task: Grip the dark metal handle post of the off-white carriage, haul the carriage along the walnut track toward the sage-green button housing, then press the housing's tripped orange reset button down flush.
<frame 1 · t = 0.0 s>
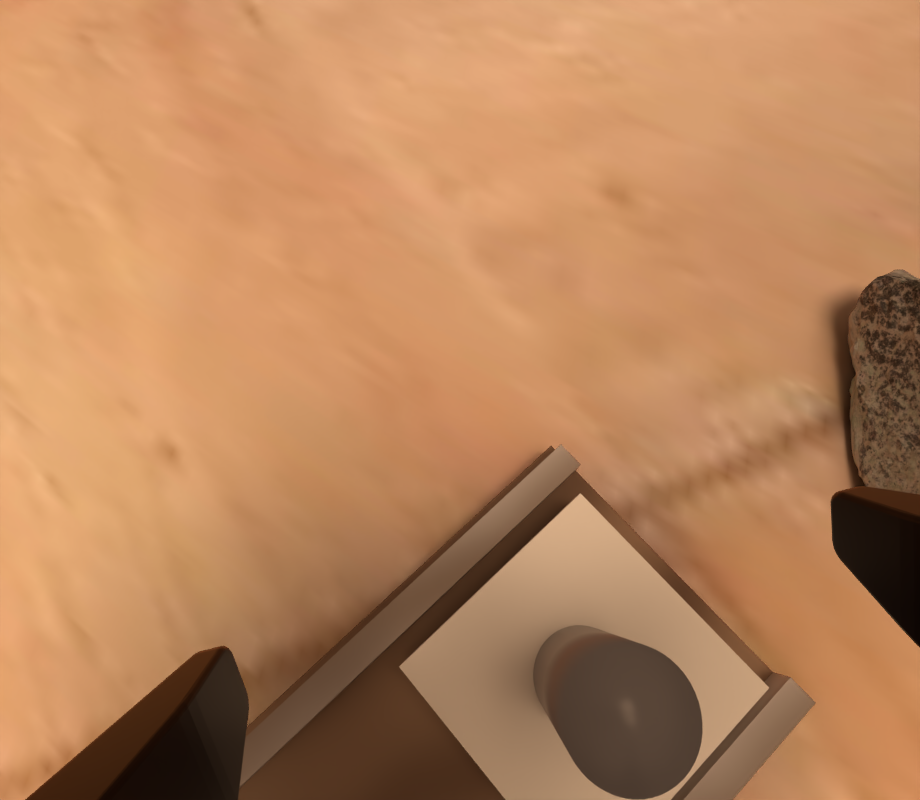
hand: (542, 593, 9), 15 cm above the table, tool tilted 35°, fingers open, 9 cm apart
carriage: (594, 687, 17), point 6 cm above the table, slide at 0.0 cm
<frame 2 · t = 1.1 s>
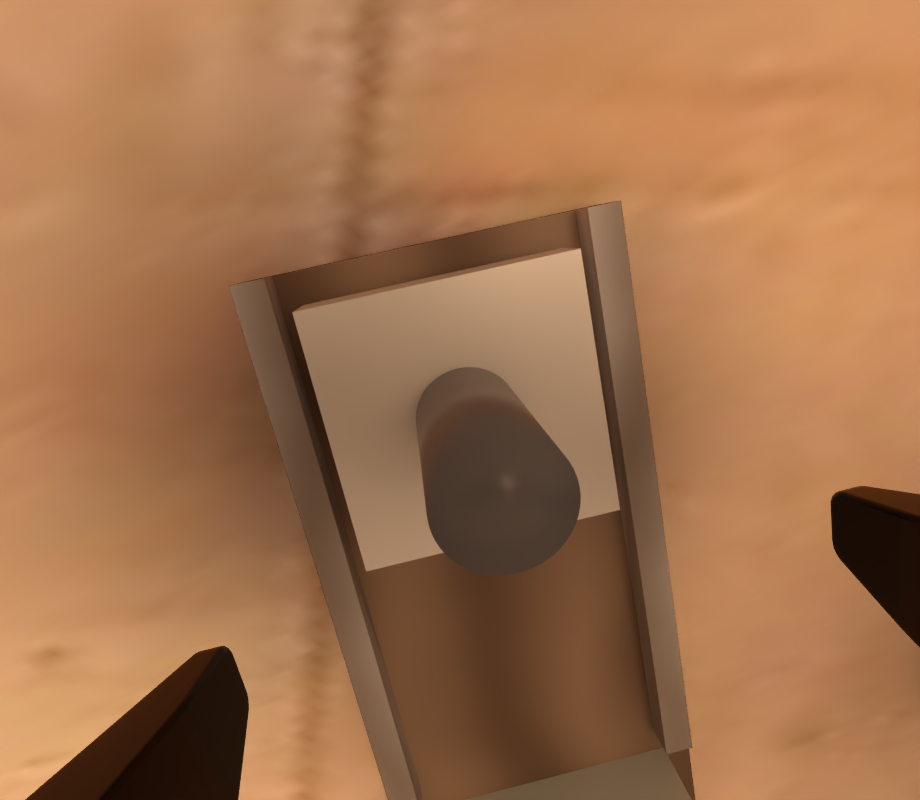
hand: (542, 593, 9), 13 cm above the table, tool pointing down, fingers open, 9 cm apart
carriage: (477, 440, 15), point 6 cm above the table, slide at 0.0 cm
track: (500, 596, 23), on the table
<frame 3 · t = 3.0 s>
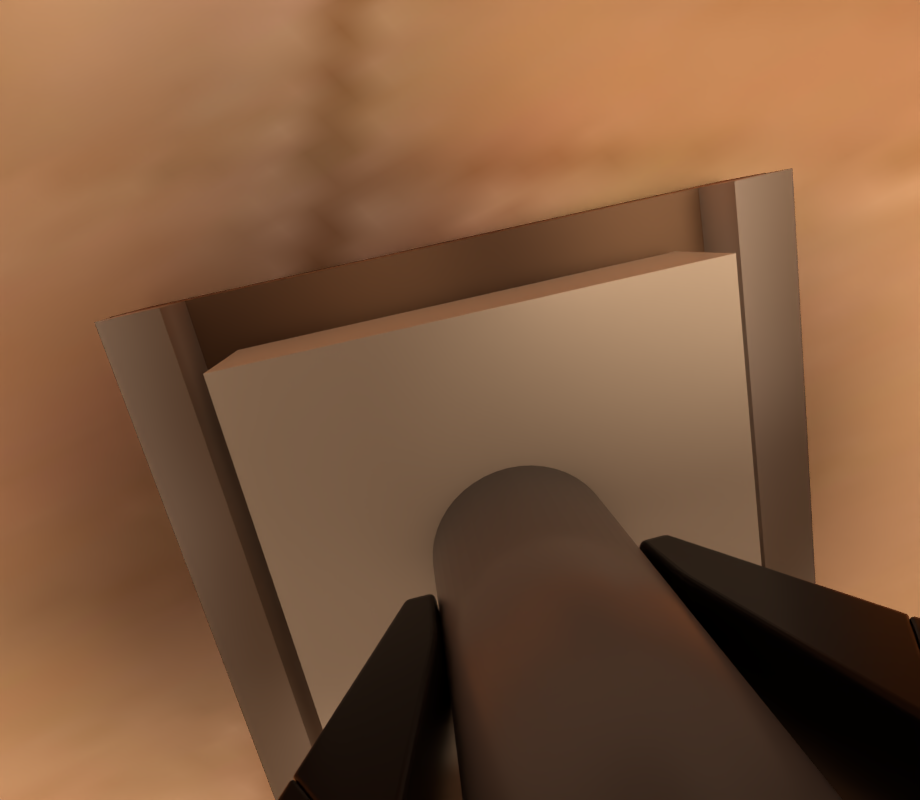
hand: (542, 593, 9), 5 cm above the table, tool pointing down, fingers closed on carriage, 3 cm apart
carriage: (556, 626, 8), point 6 cm above the table, slide at 0.0 cm, touching gripper
track: (551, 762, 16), on the table
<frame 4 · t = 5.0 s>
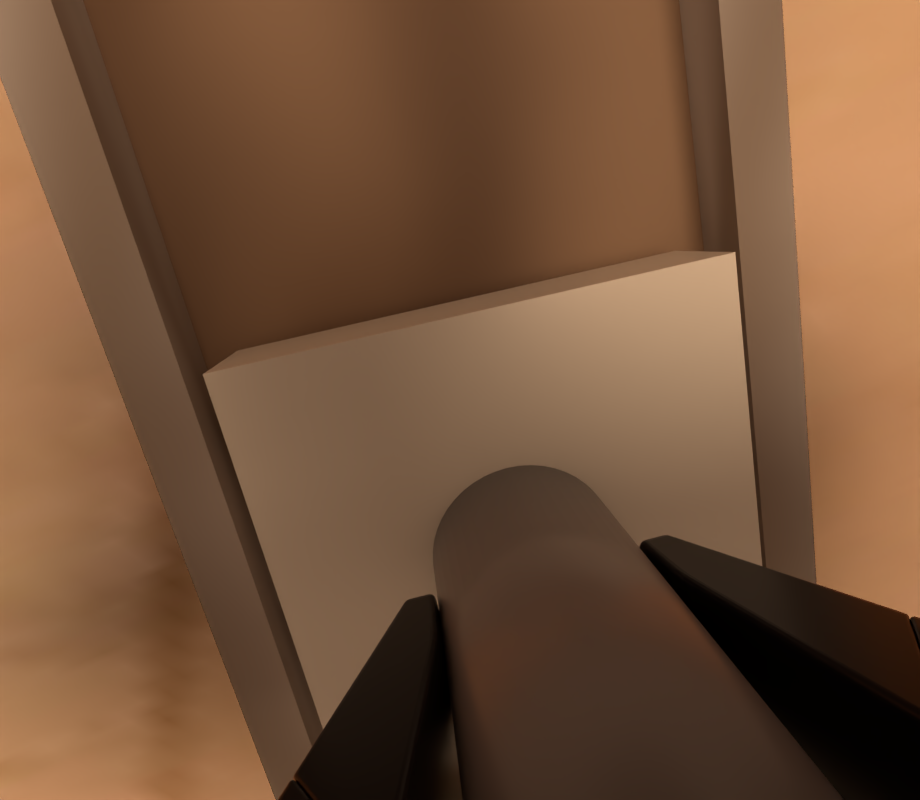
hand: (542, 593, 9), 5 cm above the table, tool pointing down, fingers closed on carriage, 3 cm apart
carriage: (556, 626, 8), point 6 cm above the table, slide at 8.4 cm, touching gripper
track: (489, 472, 14), on the table
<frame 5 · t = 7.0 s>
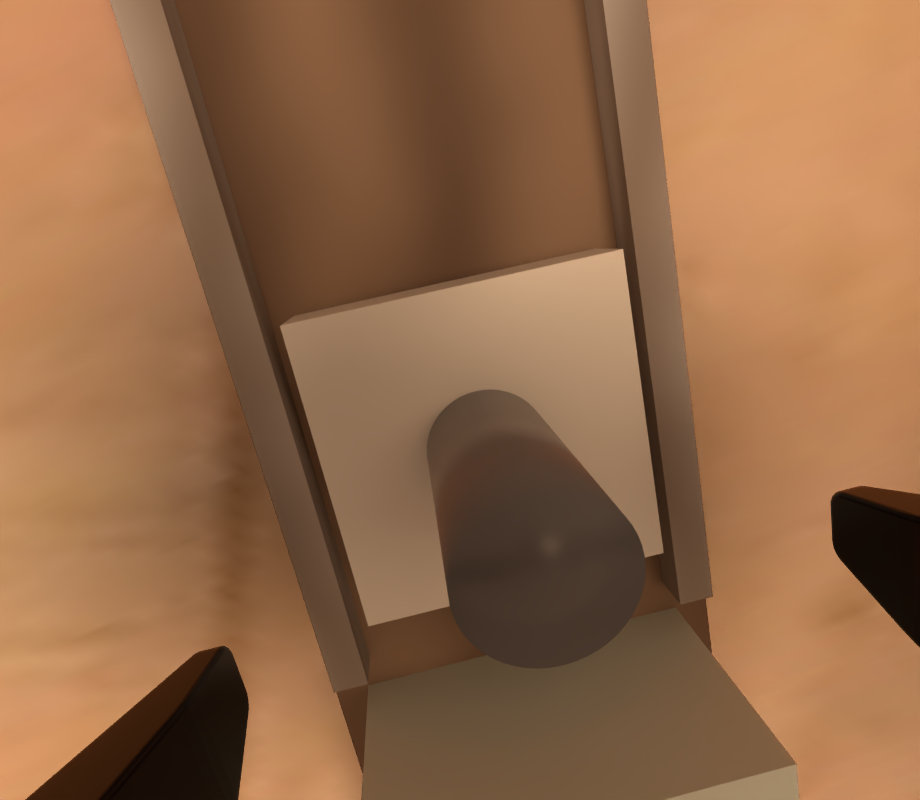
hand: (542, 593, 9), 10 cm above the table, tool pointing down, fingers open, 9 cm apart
carriage: (502, 479, 13), point 6 cm above the table, slide at 8.4 cm
track: (470, 410, 18), on the table
button housing: (530, 689, 21), resting on track
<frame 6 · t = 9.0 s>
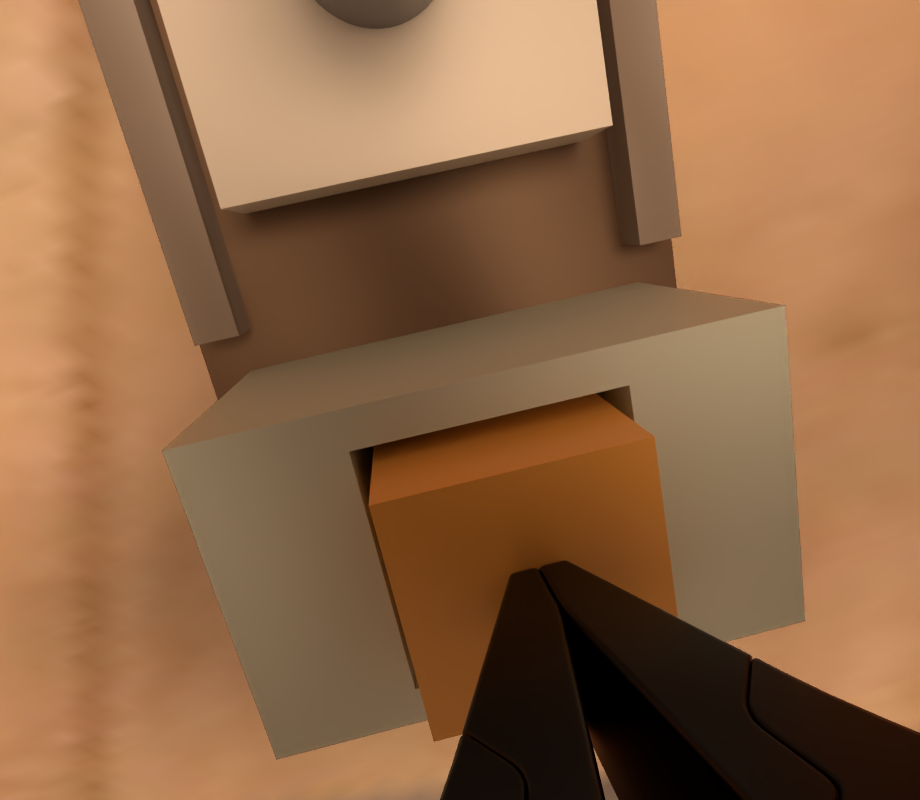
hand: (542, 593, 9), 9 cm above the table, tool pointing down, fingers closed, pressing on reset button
track: (376, 16, 15), on the table
reset button: (506, 520, 11), point 7 cm above the table, slide at 0.5 cm, touching gripper
button housing: (465, 419, 17), resting on track
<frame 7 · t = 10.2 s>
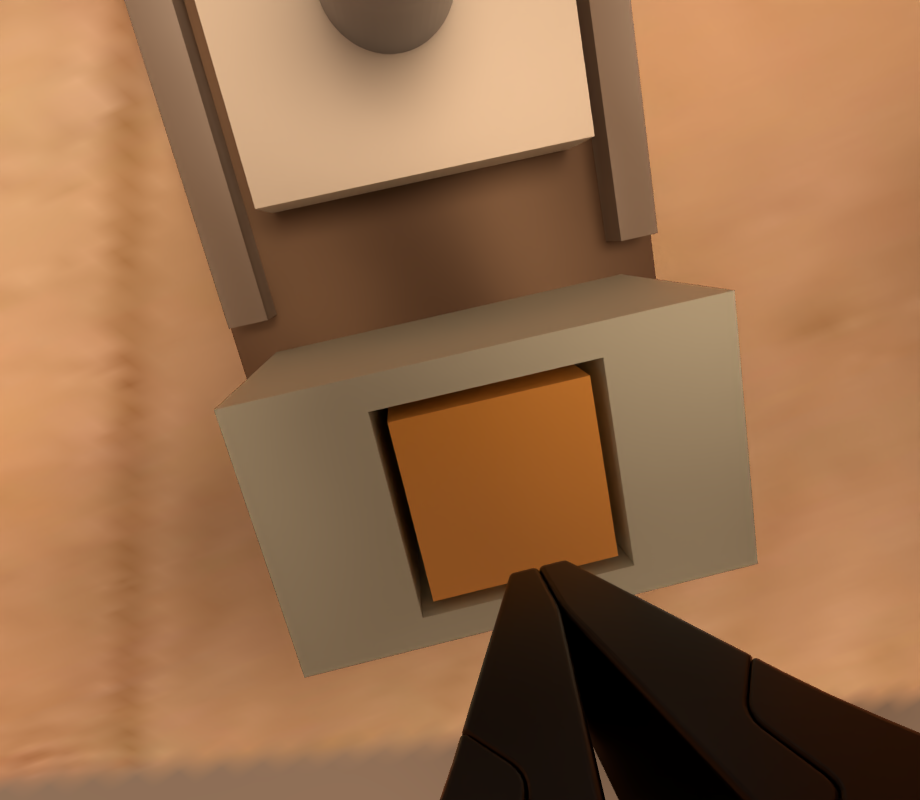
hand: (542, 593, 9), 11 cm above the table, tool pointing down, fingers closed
track: (388, 37, 16), on the table
reset button: (490, 451, 14), point 5 cm above the table, slide at 2.0 cm
button housing: (466, 399, 19), resting on track
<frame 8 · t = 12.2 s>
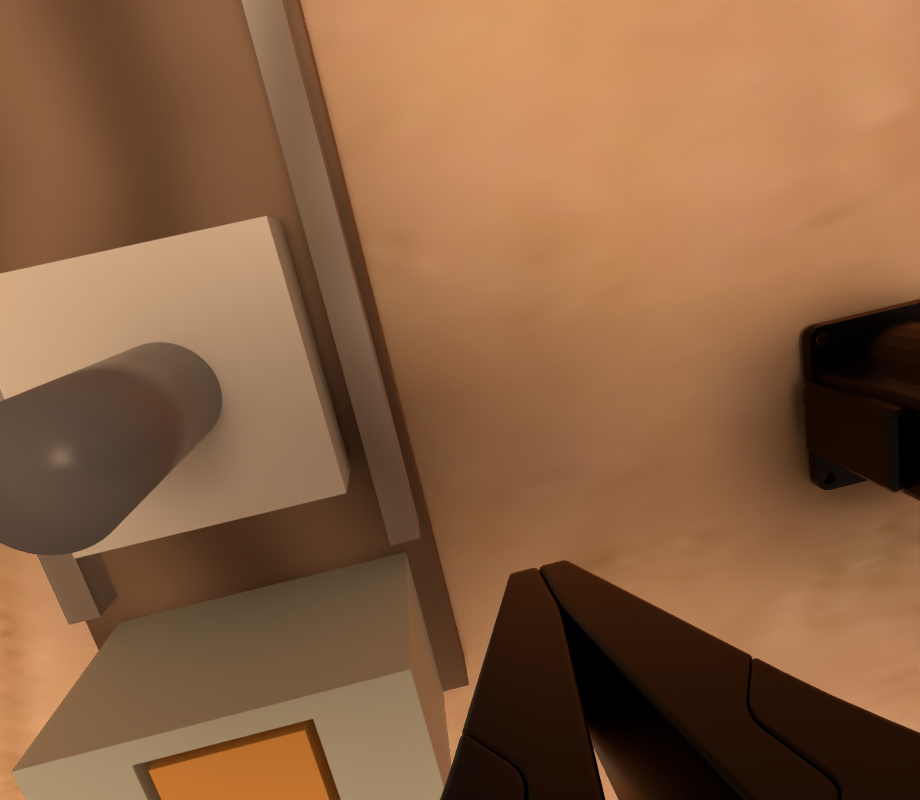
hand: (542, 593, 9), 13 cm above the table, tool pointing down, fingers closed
carriage: (135, 416, 15), point 6 cm above the table, slide at 8.4 cm
track: (207, 370, 20), on the table
reset button: (269, 735, 18), point 5 cm above the table, slide at 2.0 cm
button housing: (295, 632, 23), resting on track
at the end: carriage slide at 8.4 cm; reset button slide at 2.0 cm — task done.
